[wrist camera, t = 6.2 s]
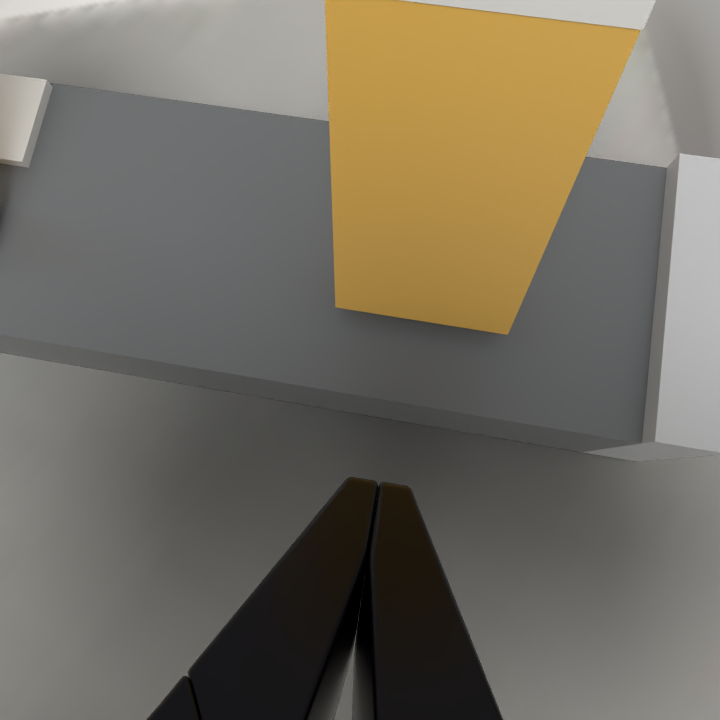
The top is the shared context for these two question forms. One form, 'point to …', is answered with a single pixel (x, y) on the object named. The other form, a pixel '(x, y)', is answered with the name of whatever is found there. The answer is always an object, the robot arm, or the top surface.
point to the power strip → (317, 285)
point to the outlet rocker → (461, 144)
